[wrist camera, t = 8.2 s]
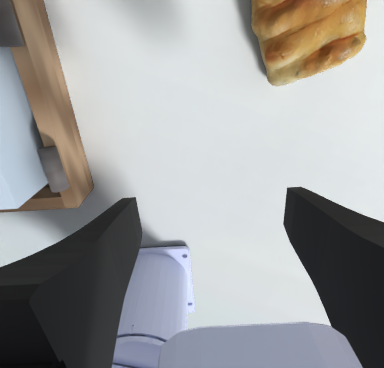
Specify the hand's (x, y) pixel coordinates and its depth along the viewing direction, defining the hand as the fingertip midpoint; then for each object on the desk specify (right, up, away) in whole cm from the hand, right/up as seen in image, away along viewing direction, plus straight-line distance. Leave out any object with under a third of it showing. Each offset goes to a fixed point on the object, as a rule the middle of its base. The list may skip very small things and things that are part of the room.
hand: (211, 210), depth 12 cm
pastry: (+6, +13, +5) cm, 15 cm away
